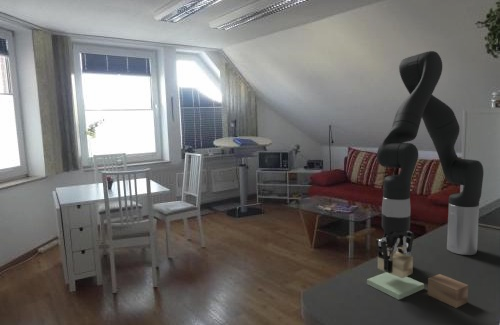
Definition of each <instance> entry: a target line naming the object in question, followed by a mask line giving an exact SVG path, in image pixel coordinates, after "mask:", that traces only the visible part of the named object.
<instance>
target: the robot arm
mask: <svg viewBox="0 0 500 325" xmlns="http://www.w3.org/2000/svg"><path fill="white" fill-rule="evenodd" d="M398 70H399V71H398V72H399V75H400V78H401V81H402V83H403V85H404V87H405V88H406V90H407V92H408V93H409V95H408V96H407V97H406V99H404V101H403V102H402V103H401V104H400V106H399V107H398V109H397V111H396V112H395V115H394V119H393V123H392V125H391V128H390V130H388V133H387V135H386V136H385V137H384V139H383V140H382V141H381V143H380V144H379V146H378V149H377V150H376V159H377V162H378V165H380V166H382V167H383V168H384V167H385V168H395V169H401V170H400V172H399V173H398V174H393V175H388V176H385V178H384V179H383V186H382V190H383V191H382V202H381V228H382V229H383V230H384V232H383V236H382V238H376V239H375V244H376V251H377V258H378V257H379V258H382V259H384V270H385V271H386V272H388V273H392V258H393V254H394V253H396V249H397V252H400V253H403V254H406V255H407V253H408V252H412V247H413V243H414V236H415V233H414V232H412V231H411V230H410V229H411V210H412V209H411V207H412V206H411V183H412V177H413V173H414V170H415V168H416V165H417V163H418V159H419V150H418V148H417V146H416V145H415V144H414V143H410V142H412V141H414V140H415V139H416V138H417V136H418V132H419V129H420V125H421V122H422V120H423V124H424V127H425V129H426V131H427V133H428V135H429V137H430V139H431V140H432V143H433V145H434V146H433V147H434V148H435V151H436V153H437V155H438V159H439V162H440V166H441V170H442V173H443V174H444V177H445V179H446V181H447V182H449V183H450V184H454V185H459V186H460V185H461V186H463V189H462V191H461V192H458V193H452V194H450V195H449V196H448V213H447V215H448V217H447V238H446V249H447V251H449V252H451V253H453V254H458V255H463V256H472V255H476V254H477V251H478V242H479V241H478V239H479V216H480V215H479V213H480V212H479V210H480V200H481V197H482V190H483V182H484V166H483V164H482V162H481V161H479V160H475V159H467V158H460V157H458V154H457V153H456V149H455V145H456V142H457V141H458V140H457V139H458V138H459V135H460V132H461V131H460V124H459V122H458V119H457V117H456V114H455V112H454V111H453V109H452V108H451V107H450V106H449V105H448V104H446V102H444V101H442V100H441V99H439V98H438V97H436V95H433V93H434V91H435V89H436V87H437V85H438V84H439V80H440V78H441V76H442V73H443V60H442V57H441V55H440V54H439V53H438V52H437V51H434V50H430V51H425V52H422V53H419V54H415V55H410V56H408V57H405V58H404V59H402V60H400V63H399V65H398ZM406 243H408V247H407V244H406ZM388 251H389V252H390V253H389V256H388ZM382 253H383V254H382ZM385 271H384V272H385Z"/></svg>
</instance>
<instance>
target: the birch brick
mask: <svg viewBox="0 0 500 325" xmlns="http://www.w3.org/2000/svg"><path fill="white" fill-rule="evenodd" d="M389 253H390V252H389V251H388V256H389ZM382 254H383V253H382ZM413 268H414V256H412V255H411V256H409V255H406V254H403V253H400V252H397V251H396V253H394V254H393V258H392V273H390V274H392V275H395V276H397V277H400V278H404V277H406V276H407V277H408V276H410V275H413ZM377 270H380V271H382V272H384V273H385V272H386V271H385V270H384V259H382V258H379V257H378V256H377ZM387 273H388V272H387Z"/></svg>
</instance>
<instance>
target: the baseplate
mask: <svg viewBox="0 0 500 325" xmlns="http://www.w3.org/2000/svg"><path fill="white" fill-rule="evenodd" d="M366 285H368V286H370V287H372V288H374V289H376V290H378V291H380V292H382V293H384V294H387V295H388V296H390V297H392V298H394V299H396V300H402V299H404V298H406V297H409V296H410V295H413V294H416V293H417V292H420V291H422V290H424V289H425V283H423V282H420V281H418V280H416V279H413V278H411V277H410V276H409V277H408V276H406V277H404V278H400V277H397V276H395V275H392V274H390V273H387V272H385V271H384V272H383V273H381V274H377V275H374V276H373V277H370V278H367V279H366Z"/></svg>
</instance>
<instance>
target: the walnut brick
mask: <svg viewBox="0 0 500 325" xmlns="http://www.w3.org/2000/svg"><path fill="white" fill-rule="evenodd" d="M427 296H429V297H431V298H433V299H436V300H438V301H440V302H442V303H444V304H447V305H449V306H451V307H453V308H455V309H457V308H459V307H461V306H463V305H466V304H468V299H469V298H468V297H469V284H466V283H463V282H461V281H460V280H456V279H454V278H451V277H449V276H447V275H444V274H441V273H439V274H436V275H435V274H434V275H433V276H431V277H428V278H427Z"/></svg>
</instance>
